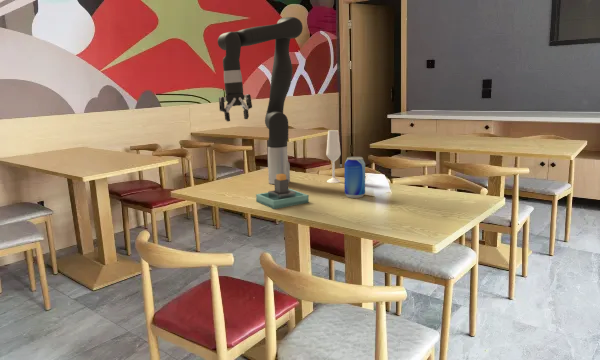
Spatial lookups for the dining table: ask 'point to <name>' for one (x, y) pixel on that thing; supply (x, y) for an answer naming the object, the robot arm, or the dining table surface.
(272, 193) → the inlet
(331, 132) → the champagne flute
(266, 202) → the tray
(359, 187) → the beer can
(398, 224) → the dining table surface
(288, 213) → the dining table surface
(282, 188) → the grey square peg
